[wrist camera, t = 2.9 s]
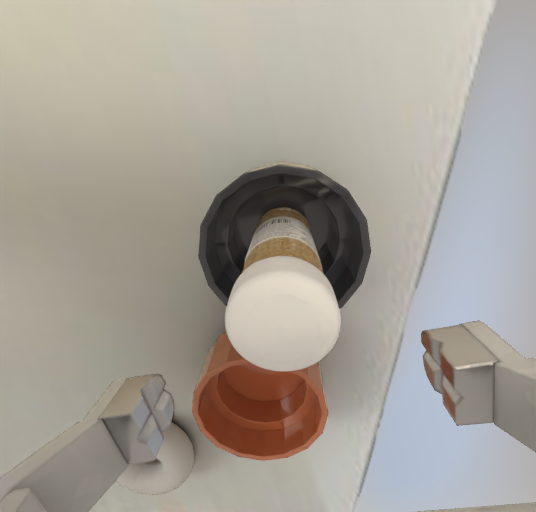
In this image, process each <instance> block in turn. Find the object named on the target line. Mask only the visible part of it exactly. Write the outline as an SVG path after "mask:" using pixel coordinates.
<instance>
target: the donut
mask: <svg viewBox="0 0 536 512" xmlns="http://www.w3.org/2000/svg"><path fill="white" fill-rule="evenodd" d="M163 437H164V440H163V443H162V445H161V447H160V450H159V452H158V454H157V457H156V459H155V461H149V462H142V463H136V464H129V465H128V467H127V468H126V469H125V471H124V472H123V473H122V474H121V475H120V476H119V477H118V479H117V480H116V481H115V482H116V483H118V484H119V485H120V486H122V487H124V488H126V489H128V490H130V491H133V492H137V493H141V494H150V495H157V494H164V493H167V492H169V491H172V490H174V489H176V488H178V487H179V486H180V485H181V484H182V483H183V482H184V481H185V480H186V479H187V478H188V476H189V474H190V472H191V469H192V467H193V464H194V449H193V445H192V443H191V441H190V439H189V437H188V436H187V434H186V433H185V432H184V431H183V430H182V429H181V428H180V427H179V426H177V425H175V424H174V423H172V422H171V424H170V426H169V427H168V428H167V429H166V430H165V431H164V432H163Z"/></svg>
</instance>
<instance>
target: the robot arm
mask: <svg viewBox="0 0 536 512" xmlns="http://www.w3.org/2000/svg"><path fill="white" fill-rule="evenodd" d="M421 342H422V344H423V346H424V347H425V348H426V352H425V353H424V355H423V361H424V367H425V371H426V374H427V377H428V379H429V381H430V383H431V385H432V386H433V388H434V390H435V391H437V392H439V393H441V394H442V396H443V404H444V406H445V407H446V409H447V410H448V412H449V414H450V415H451V417H452V418H453V420H454V422H455V423H456V425H457V426H459V425H470V424H482V423H493V422H494V424H495V425H496V426H498V427H499V428H501V429H502V430H504V431H505V432H507V433H508V434H509V435H511V436H513V437H514V438H515V439H517V440H518V441H520V442H521V443H523V444H524V445H526V446H528V447H529V448H530V449H532V450H533V451H535V452H536V359H535V358H527V359H526V358H525V357H523V356H522V355H521V354H520V353H519V352H518V351H516V350H515V349H514V348H513V347H512V346H511V345H509V344H508V343H507V342H506V341H505V340H504V339H502V338H501V337H500V336H499V335H498V334H496V333H495V332H494V331H493V330H492V329H491V328H489V327H488V326H487V325H486V324H485V323H483V322H481V321H473V322H468V323H462V324H459V325H455V326H449V327H443V328H437V329H431V330H425V331H422V333H421ZM165 384H166V382H165V380H164V379H163V377H162V375H160V374H152V375H144V376H137V377H130V378H124V379H117V380H115V381H113V382H112V383H111V384H110V385H109V387H108V388H107V389H106V391H105V392H104V393H103V394H102V396H101V397H100V398H99V400H98V401H97V402H96V403H95V405H94V406H93V407H92V409H91V410H90V411H89V412H88V414H87V415H86V416H85V418H84V419H83V420H82V421H81V422H77V423H75V424H74V425H73V426H71V427H70V428H68V429H67V430H66V431H64V432H63V433H62V434H60V435H59V436H57V437H56V438H55V439H53V440H52V441H50V442H49V443H48V444H46V445H45V446H44V447H42V448H41V449H39V450H38V451H37V452H35V453H34V454H32V455H31V456H30V457H28V458H27V459H26V460H24V461H23V462H21V463H20V464H19V465H17V466H16V467H14V468H13V469H12V470H10V471H9V472H8V473H6V474H5V475H3V476H2V477H1V478H0V512H88V511H89V510H90V509H91V508H92V507H93V506H94V505H95V503H96V502H97V501H98V500H99V499H100V498H101V497H102V495H103V494H104V493H105V492H106V491H107V490H108V489H109V488H110V486H111V485H112V484H113V483H114V482H115V481H116V480H117V479H118V477H119V476H120V475H121V474H122V473H123V472H124V471H125V469H126V468H127V467H128V465H129V464H136V463H142V462H149V461H155V459H156V457H157V454H158V452H159V450H160V447H161V445H162V443H163V440H164V437H163V432H164V431H165V430H166V429H167V428H168V427H169V426H170V424H171V422H172V419H173V416H174V401H173V398H172V396H171V394H170V393H169V392H167V391H166V390H165V389H164V387H165ZM418 512H536V502H533V503H521V504H507V505H494V506H482V507H469V508H457V509H443V510H431V511H418Z"/></svg>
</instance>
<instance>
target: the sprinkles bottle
mask: <svg viewBox="0 0 536 512" xmlns="http://www.w3.org/2000/svg"><path fill="white" fill-rule="evenodd" d="M225 327H226V332H227V335H228V338H229V340H230V342H231V344H232V346H233V347H234V348H235V350H236V351H237V352H238V353H239V354H240V355H241V356H242V357H243V358H245V359H246V360H247V361H249V362H250V363H252V364H254V365H256V366H259V367H261V368H264V369H268V370H272V371H295V370H300V369H303V368H306V367H309V366H311V365H313V364H315V363H317V362H318V361H320V360H321V359H322V358H323V357H325V356H326V355H327V354H328V353H329V351H330V350H331V349H332V348H333V346H334V344H335V342H336V341H337V338H338V336H339V333H340V327H341V315H340V310H339V306H338V303H337V300H336V296H335V293H334V291H333V288H332V286H331V284H330V282H329V281H328V279H327V278H326V276H325V275H324V274H323V271H322V265H321V262H320V259H319V256H318V253H317V250H316V247H315V244H314V240H313V237H312V235H311V233H310V226H309V223H308V222H307V220H306V218H305V217H304V216H303V215H302V214H301V213H299V212H298V211H296V210H294V209H291V208H287V207H283V208H276V209H272V210H270V211H268V212H267V213H265V214H264V215H263V216H262V218H261V219H260V220H259V221H258V223H257V226H256V230H255V233H254V236H253V238H252V241H251V244H250V247H249V249H248V252H247V255H246V258H245V263H244V269H243V271H242V274H241V275H240V276H239V277H238V279H237V280H236V282H235V284H234V286H233V288H232V291H231V294H230V297H229V300H228V304H227V308H226V312H225Z"/></svg>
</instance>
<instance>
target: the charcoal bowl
mask: <svg viewBox="0 0 536 512" xmlns="http://www.w3.org/2000/svg"><path fill="white" fill-rule="evenodd" d="M283 207H287V208H291V209H294V210H296V211H298V212H299V213H301V214H302V215H303V216H304V217H305V218H306V220H307V222H308V223H309V226H310V233H311V235H312V237H313V240H314V244H315V247H316V250H317V253H318V256H319V259H320V262H321V265H322V271H323V274H324V275H325V276H326V278H327V279H328V281H329V282H330V284H331V286H332V288H333V291H334V293H335V296H336V300H337V303H338V306H339V309H340V308H342V307H343V306H344V305H345V303H346V302H347V301H348V300H349V299H350V297H351V296H352V295H353V294H354V292H355V291H356V290H357V289H358V287H359V286H360V285H361V284H362V282H363V278H364V275H365V271H366V268H367V265H368V261H369V258H370V254H371V247H370V240H369V232H368V225H367V220H366V218H365V216H364V214H363V213H362V211H361V210H360V208H359V207H358V205H357V203H356V202H355V200H354V199H353V197H352V196H351V194H350V192H349V191H348V190H347V189H346V188H344V187H343V186H341V185H339V184H338V183H336V182H335V181H333V180H332V179H330V178H329V177H327V176H326V175H324V174H323V173H321V172H319V171H318V170H316V169H314V168H313V167H311V166H308V165H302V164H295V163H289V162H283V161H282V162H281V161H280V162H276V163H272V164H269V165H265V166H261V167H257V168H254V169H252V170H250V171H248V172H246V173H244V174H243V175H242V176H240V177H239V178H238V179H237V180H235V181H234V182H233V183H231V184H230V185H229V186H228V187H226V188H225V189H224V190H223V191H221V192H220V193H219V194H217V196H216V197H215V199H214V201H213V203H212V204H211V206H210V208H209V210H208V212H207V214H206V216H205V218H204V220H203V221H202V223H201V227H200V242H199V260H200V263H201V265H202V268H203V271H204V274H205V277H206V280H207V283H208V285H209V287H210V288H211V289H212V290H213V292H214V293H215V294H216V295H217V296H218V297H219V298H220V300H221V301H222V302H223V303H224V304H225V305H226V306H227V304H228V300H229V297H230V294H231V291H232V288H233V286H234V284H235V282H236V280H237V279H238V277H239V276H240V275H241V274H242V271H243V269H244V263H245V258H246V255H247V252H248V249H249V247H250V244H251V241H252V238H253V236H254V233H255V230H256V226H257V223H258V221H259V220H260V219H261V218H262V216H263V215H264V214H265V213H267V212H268V211H270V210H272V209H276V208H283Z"/></svg>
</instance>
